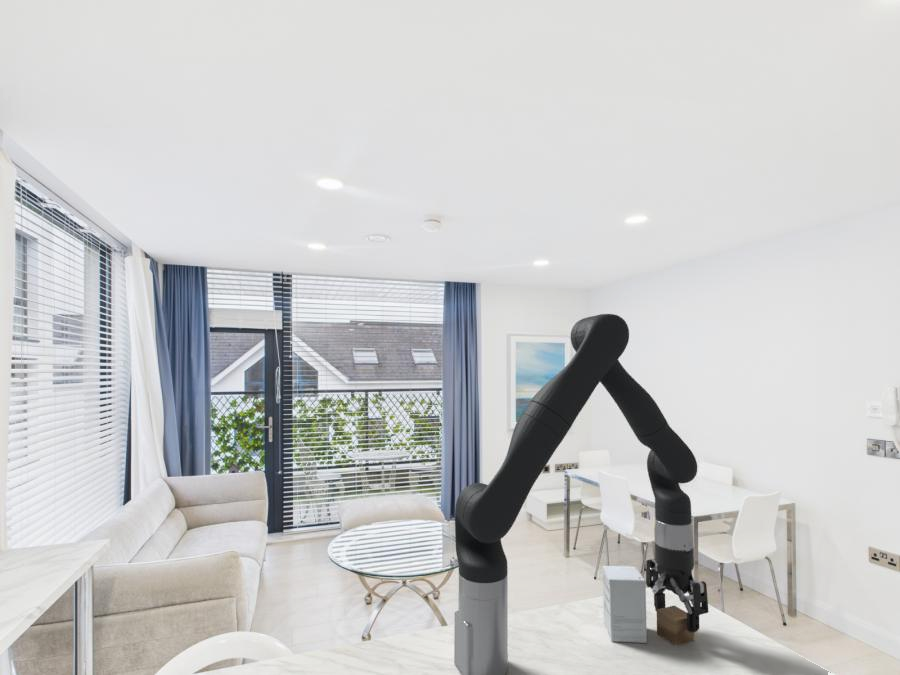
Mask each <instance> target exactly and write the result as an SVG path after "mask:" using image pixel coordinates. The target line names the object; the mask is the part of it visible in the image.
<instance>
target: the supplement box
mask: <svg viewBox="0 0 900 675" xmlns="http://www.w3.org/2000/svg"><path fill="white" fill-rule="evenodd" d="M646 587H647V585H646V579H644V577H643V575H642V574H641V573H640V571H639V570H638V568H637V567H636V566H623V565H602V597H603V598H602V600H603V601H602V603H603V604H602V605H603V607H602V608H603V609H602V610H603V612H602V614H603V616H602V618H603V625H604V627H605V629H606V631H607V635H608V638H609V639H610V641H611V642H615V643H616V642H619V643H620V642H622V643H637V644H638V643H642V644H647V643H648V642H647V641H648V639H647V638H648V637H647V636H648V635H647V633H648V632H647V601H646V600H647V597H646V596H647V595H646V594H647V592H646V591H647V590H646Z"/></svg>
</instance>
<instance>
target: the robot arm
mask: <svg viewBox="0 0 900 675" xmlns="http://www.w3.org/2000/svg"><path fill="white" fill-rule="evenodd" d="M629 339H630V329H629V326H628V323H627V322H626V320H625V319H624V318H623V317H621V316H620V315H617V314H615V313H614V314H613V313H602V314H596V315H592V316H588V317H584V318H582V319H580V320H578V321H577V322H576V323H574V325H573V326H572V328H571V331H570V342H571V343H570V344H571V345H572V347H573V350H574V351H575V353H574V355H573V356H572V358H571V359H570V361H569V362H568V364H567V365H566V366H564V367H563V369H562V370H560V371H559V372H558V373H556V375H554V376H553V377H552V378H551V379H550V380H549V381H548V382H546V383H545V384H544V385H543V386H542V387H541V388H540V389H539V390H538V391H537V392H536V393H535V395H534V396H533V397H532V398H531V400H530V401H529V403H528V404H527V406H526V407H525V409H523V412H522V413H521V415H520V416H519V417H518V419H517V422H516V424H515V426H514V429H513V431H512V435H511V439H510V443H509V446H508V450H507V453H506V456H505V458H504V460H503V462H502V464H501V466H500V468H499V469H498V471H497V472H496V474H495V475H494V476H493V478H492V479H491V481H489V483H488V484H487V483H483V482H475V483H471V484H468V485H467V486H466V487H464V488H463V489H462V490H461V491H460V493H459V494H458V496H457V499H456V502H455V507H454V508H455V509H454V510H455V511H454V530H455V531H454V533H455V554H456V558H457V563H458V610H455V612H454V632H453V633H454V636H453V637H454V641H453V642H454V645H453V646H454V651H453V653H454V655H453V656H454V658H453V659H454V665H455V667H457V669H458V670H459V672H460V673H461V675H506V674H507V672H508V665H509V664H508V663H509V662H508V659H509V658H508V657H509V654H508V652H509V651H508V635H509V634H508V617H509V616H508V609H509V608H508V604H509V603H508V602H509V601H508V589H509V588H508V578H509V577H508V559H507V555H506V554H505V551H504V548H503V543H502V540H501V539H503V538H504V537H505V536H507V534H508V533H509V532H510V530H511V529H512V527H513V525H514V523H515V521H517V520H516V519H517V518H518V516H519V515H520V512H521V510H522V508H523V506H524V504H525V502H526V500H527V498H528V496H529V494H530V491H531V490H532V488H533V486H534V485H535V483H536V481H537V480H538V478H539V476H540V475H541V474H542V472H543V470H544V469H545V467H546V466H547V464H548V462H549V461H550V459H551V458H552V457H553V454H554V453H555V451H556V450H557V449H558V447H559V445H560V444H561V443H562V442H563V440H564V439H565V438H566V436H567V434H568V433H569V431H570V429H571V427H572V426H573V424H574V423H575V421H576V419H577V418H578V416H579V414H580V413H581V411H582V410H583V408H584V407H585V405H586V404H587V403H588V400H589V399H590V398H591V396H592V394H593V393H594V391H595V389H596V388H597V386H598V385H599V383H600V384H601V385H602V386H603V387H604V389H605V390H606V391H607V392H608V394H609V396H610V397H611V398H612V400H613V401H614V403H615V404H616V406H617V407H618V408H619V410H620V412H621V413H622V415H623V417H624V418H625V420H626V422H627V424H628V425H629V427H630V429H631V431H632V432H633V433H634V436H635V437H636V439H637V440H638V441H639V443H641V444H642V445H644V446H645V447H647V448H648V449H650V450H649V453H648V455H647V459H646V468H647V474H648V479H649V482H650V486H651V491H652V493H653V497H654V517H655V518H654V519H655V521H654V530H653V531H654V536H653V537H654V558H651V559H647V560H646V561H645V562H646V563H645V565H646V566H645V568H646V569H645V576H646V577H645V582H646V587H647V588H650V589H651V591H652V593H653V602H654V604H653V606H654V609H655V610H654V611H655V612H657V609H661V608H666V593H664V592H665V591H666V590H667V591H671V592H672V593H673V594H674V595H677V597H678V598H679V601H680V602H681V603H683V606H684V607H685V608H686V612H687V630H688V631H689V632H691V633H693V632H694V633H696V632H698V631H699V629H700V616H701V615H704V614H709V599H708V598H709V597H708V590H707V589H708V588H707V587H708V586H707V583H706V582H705V581H703V580H702V581H698V580H696V579H694V577H693V574H692V573H693V570H694V568H695V552H694V551H695V549H694V546H695V545H694V530H693V523H692V501H691V498H690V496H689V495H688V494H687V493H685V491H683V489H681V487H680V484H687V483H690V482H691V481H693V480H694V479H695V477H696V476H697V473H698V463H697V462H698V461H697V458H696V457H695V456H696V455H695V454H694V453H693V451H692V450H691V449H690V447H689V446H688V445H687V444H686V443H685V441H683V439H682V438H681V436H679V434H677V432H675V430H673V429H672V427H671V426H670V424H669V423H668V421H667V419H666V418H665V416H664V414H663V412H662V410H661V408H660V407H659V406H658V404H657V402H656V400H654V398H653V397H652V395H651V394H650V393H649V392H648V391H647V390H646V389H645V388H644V387H643V386H642V385H641V384H640V383H639V382H637V381H636V380H635V378H634V377H633V376H632V375H631V374H629V372H628V371H627V370H626V369H625V368H624V366H623V364H621V362H620V361H619V358H620V357H621V356H622V355H623V353H624V352H625V350H626V348H627V346H628V344H629V341H630V340H629ZM687 593H688V595H685V594H687Z"/></svg>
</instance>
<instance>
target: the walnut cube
mask: <svg viewBox="0 0 900 675" xmlns="http://www.w3.org/2000/svg"><path fill="white" fill-rule="evenodd" d="M687 612H688V611H685V610H683V609H681V608H680V607H678V606H677V605H674V604H673V605H671V606H665V608H661V609H657V611H656V634H657V635H659V636H661V638H663V639H665V640H666V641H668V642H669V643H671V644H672V645H674V646H675V647H676V646H677V647H678V646H681V645H685V644H689V643H692V641H693V642H695V632H693V633H691V632H689V631H688V630H687Z"/></svg>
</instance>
